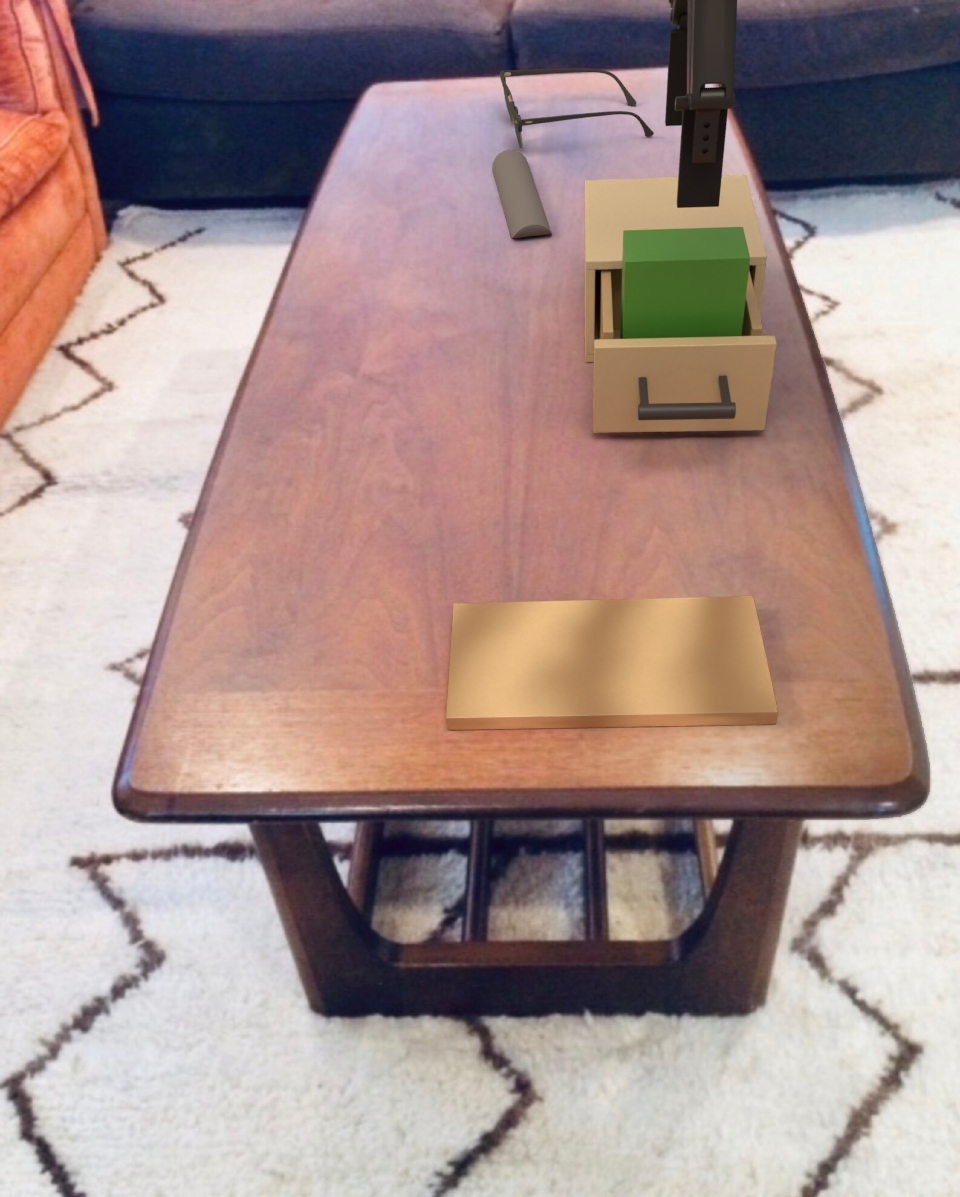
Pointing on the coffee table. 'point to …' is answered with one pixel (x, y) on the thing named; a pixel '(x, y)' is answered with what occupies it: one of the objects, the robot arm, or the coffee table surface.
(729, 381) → the drawer
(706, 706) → the board
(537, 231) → the half round rod
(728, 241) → the tall green block
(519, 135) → the sunglasses
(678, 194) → the robot arm
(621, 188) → the cabinet
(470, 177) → the coffee table surface
